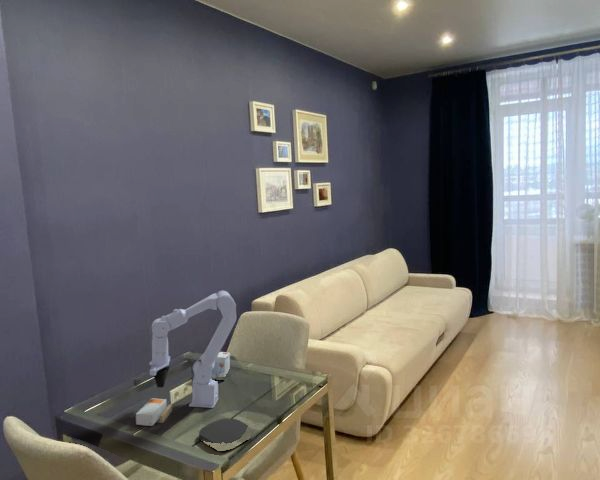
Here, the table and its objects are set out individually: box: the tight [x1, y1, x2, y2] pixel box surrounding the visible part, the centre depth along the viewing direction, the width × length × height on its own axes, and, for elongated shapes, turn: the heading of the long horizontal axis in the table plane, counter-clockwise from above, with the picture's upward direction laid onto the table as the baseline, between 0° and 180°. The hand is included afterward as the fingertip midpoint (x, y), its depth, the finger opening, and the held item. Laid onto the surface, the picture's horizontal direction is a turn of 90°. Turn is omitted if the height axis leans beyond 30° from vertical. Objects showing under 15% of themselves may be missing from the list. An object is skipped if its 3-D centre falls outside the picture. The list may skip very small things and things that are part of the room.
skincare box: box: [135, 397, 168, 427], centre depth 157 cm, size 6×4×12 cm
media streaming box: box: [198, 417, 249, 444], centre depth 146 cm, size 15×15×3 cm
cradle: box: [155, 404, 173, 424], centre depth 159 cm, size 10×9×2 cm
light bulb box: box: [211, 351, 231, 378], centre depth 193 cm, size 11×7×11 cm, turn 81°
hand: (160, 386), depth 164 cm, fingers closed
